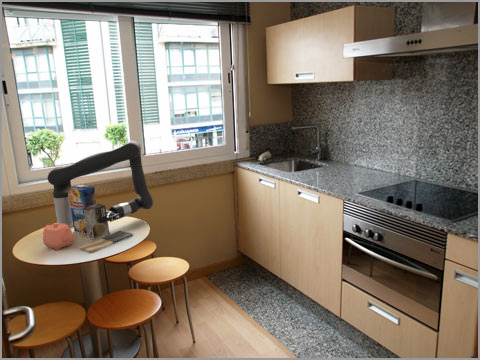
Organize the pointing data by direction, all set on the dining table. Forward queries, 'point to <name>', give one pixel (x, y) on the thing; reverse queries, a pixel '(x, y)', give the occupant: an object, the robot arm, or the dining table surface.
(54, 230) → the teapot
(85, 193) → the juice carton
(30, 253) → the dining table surface
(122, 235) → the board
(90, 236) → the coffee box
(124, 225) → the dining table surface
